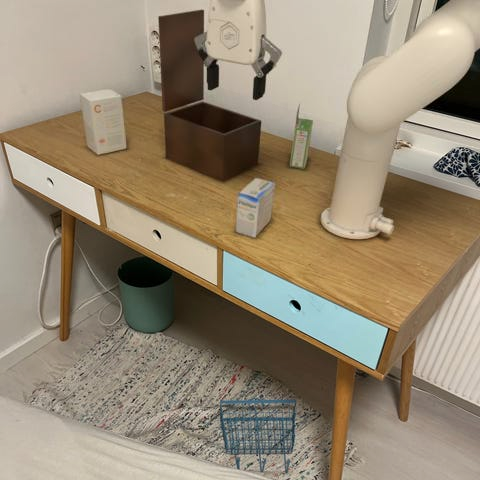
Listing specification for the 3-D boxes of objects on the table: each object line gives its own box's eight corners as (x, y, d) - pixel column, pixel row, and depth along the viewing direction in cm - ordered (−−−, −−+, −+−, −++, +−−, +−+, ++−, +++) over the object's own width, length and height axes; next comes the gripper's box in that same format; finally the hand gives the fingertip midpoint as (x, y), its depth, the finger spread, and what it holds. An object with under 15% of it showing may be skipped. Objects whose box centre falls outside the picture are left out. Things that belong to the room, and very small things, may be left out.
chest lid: (204, 9, 113) (201, 9, 114) (160, 16, 105) (158, 16, 105) (203, 99, 126) (201, 98, 126) (164, 112, 118) (162, 111, 118)
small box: (115, 140, 132) (110, 88, 123) (127, 149, 128) (122, 95, 120) (86, 146, 128) (78, 92, 119) (97, 155, 124) (90, 100, 116)
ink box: (305, 169, 124) (313, 114, 116) (289, 167, 125) (296, 112, 116) (307, 158, 130) (315, 104, 121) (292, 156, 130) (299, 102, 121)
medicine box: (251, 215, 106) (255, 176, 100) (271, 221, 104) (275, 182, 99) (235, 232, 100) (237, 192, 94) (255, 238, 99) (259, 198, 93)
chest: (258, 164, 125) (261, 120, 118) (222, 181, 117) (224, 135, 110) (202, 143, 134) (202, 101, 126) (165, 158, 125) (163, 113, 118)
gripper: (183, -18, 85) (185, 89, 96) (276, -6, 79) (267, 107, 90) (206, -22, 90) (206, 80, 101) (295, -11, 84) (284, 97, 95)
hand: (235, 93), depth 95 cm, fingers open, 9 cm apart
